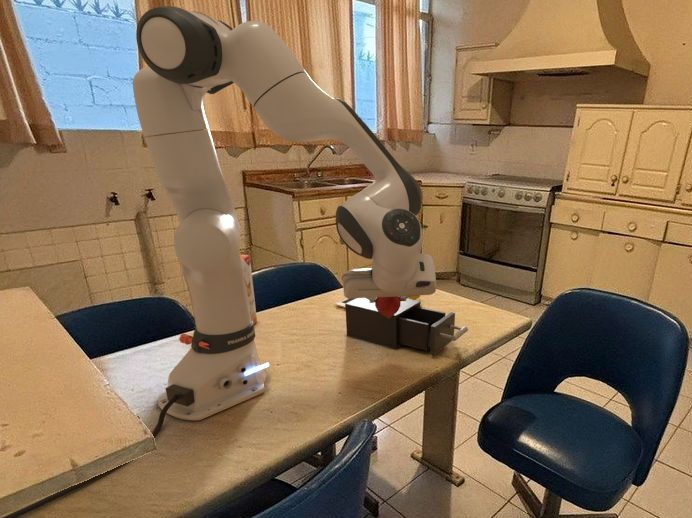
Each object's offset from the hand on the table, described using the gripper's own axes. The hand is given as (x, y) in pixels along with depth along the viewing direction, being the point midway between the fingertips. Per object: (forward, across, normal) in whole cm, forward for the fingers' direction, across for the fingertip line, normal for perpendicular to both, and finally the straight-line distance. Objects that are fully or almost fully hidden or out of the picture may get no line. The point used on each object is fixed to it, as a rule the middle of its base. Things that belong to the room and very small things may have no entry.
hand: (387, 299), depth 105 cm
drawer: (+19, +12, -5) cm, 22 cm away
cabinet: (+26, +1, +1) cm, 26 cm away
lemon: (+44, +14, +19) cm, 50 cm away
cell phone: (+46, -4, +21) cm, 50 cm away
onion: (+3, 0, -4) cm, 5 cm away
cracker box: (+32, -39, +7) cm, 51 cm away
